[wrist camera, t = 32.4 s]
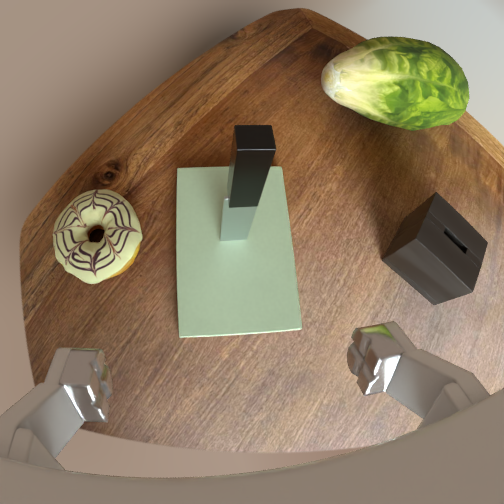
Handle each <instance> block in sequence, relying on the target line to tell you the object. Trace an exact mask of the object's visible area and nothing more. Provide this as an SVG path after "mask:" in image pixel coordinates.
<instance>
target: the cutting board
mask: <svg viewBox="0 0 504 504" xmlns="http://www.w3.org/2000/svg"><path fill="white" fill-rule="evenodd" d="M228 174H229V167H194V168H177V198H176V268H177V304H178V327H179V337H181V338H183V337H208V336H226V335H242V334H256V333H269V332H280V331H291V330H300V329H302V322H301V313H300V304H299V295H298V286H297V278H296V269H295V261H294V253H293V245H292V238H291V230H290V223H289V215H288V208H287V201H286V194H285V187H284V180H283V174H282V167H270V170H269V173H268V176H267V179H266V182H265V185H264V189H263V192H262V195H261V198H260V201H259V204H258V206H257V209H256V212H255V215H254V219H253V222H252V225H251V228H250V231H249V234H248V238H247V240H233V241H220V232H221V222H222V211H223V201H224V196H228V194H227V182H228Z"/></svg>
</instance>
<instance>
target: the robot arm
mask: <svg viewBox="0 0 504 504" xmlns="http://www.w3.org/2000/svg"><path fill="white" fill-rule="evenodd" d="M351 338H352V339H353V341H354V342H353V343H352V344H351V345H350V347H349V348H348V352H347V363H348V366H349V369H350V371H351V373H353V374H354V375H356V376H358V380H357V384H358V385H359V387H360V389H361V391H362V393H363V395H364V396H367V395H371V394H375V393H380V392H384V391H386V393H387V394H389V395H390V396H391V397H393V398H394V399H396V400H397V401H399V402H400V403H401V404H403V405H404V406H406V407H407V408H409V409H410V410H411V411H413V412H414V413H416V414H417V415H419V416H420V417H421V418H423V420H422V422H421V423H420V425H419V426H418V428H417V430H415V431H412V432H410V433H407V434H404V435H402V436H399V437H396V438H393V439H390V440H388V441H385V442H382V443H379V444H375V445H372V446H369V447H366V448H363V449H360V450H356V451H352V452H349V453H345V454H341V455H337V456H334V457H330V458H325V459H321V460H317V461H313V462H308V463H303V464H298V465H293V466H287V467H282V468H276V469H270V470H263V471H256V472H249V473H240V474H230V475H219V476H206V477H185V478H141V477H120V476H108V475H97V474H88V473H79V472H73V471H66V470H65V469H64V468H63V467H62V466H61V465H60V464H59V463H58V461H57V460H56V459H55V458H56V457H57V455H58V454H59V453H60V452H61V450H62V449H63V448H64V447H65V445H66V444H67V443H68V442H69V440H70V439H71V438H72V437H73V435H74V434H75V433H76V432H77V430H78V429H79V428H80V427H81V425H82V424H83V423H84V422H83V421H87V422H108V415H109V409H110V405H109V403H108V401H107V399H108V398H109V397H110V396H111V395H112V389H113V383H112V375H111V371H110V369H109V367H108V366H107V365H105V364H104V363H105V358H106V357H105V355H104V352H103V350H101V349H92V348H64V347H59V348H58V349H57V350H56V352H55V355H54V357H53V360H52V362H51V365H50V368H49V370H48V373H47V376H46V379H45V381H44V383H39V384H38V385H37V386H36V387H35V388H33V389H32V390H31V391H30V392H29V393H27V394H26V395H25V396H24V397H23V398H21V399H20V400H19V401H18V402H17V403H15V404H14V405H13V406H12V407H10V408H9V409H8V410H7V411H6V412H5V413H3V414H2V415H1V416H0V504H504V388H502V389H501V390H499V391H497V392H495V393H494V394H492V395H490V394H489V393H488V392H487V391H486V389H485V388H484V387H483V385H482V384H481V383H480V382H479V380H478V379H477V378H476V377H475V375H474V374H473V373H471V372H469V371H467V370H465V369H463V368H460V367H458V366H456V365H454V364H452V363H450V362H448V361H446V360H443V359H441V358H439V357H437V356H435V355H433V354H431V353H429V352H427V351H424V350H422V349H417V348H416V347H415V346H414V344H413V343H412V342H411V340H410V339H409V338H408V337H407V335H406V334H405V333H404V332H403V330H402V329H401V328H400V327H399V325H398V324H397V323H396V322H394V321H392V322H387V323H382V324H377V325H372V326H366V327H361V328H356V329H355V330H354V331H353V334H352V337H351Z"/></svg>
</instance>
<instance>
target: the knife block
mask: <svg viewBox="0 0 504 504" xmlns="http://www.w3.org/2000/svg"><path fill="white" fill-rule="evenodd" d="M487 244H488V242H487V241H486V240H485V239H484V238H483V237H482V236H481V235H480V234H479V233H478V232H477V231H476V230H475V229H474V228H473V227H472V226H471V225H470V224H469V223H468V222H467V221H466V220H465V219H464V218H463V217H462V216H461V215H460V214H459V213H458V212H457V211H456V210H455V209H454V208H453V207H452V206H451V205H450V204H449V203H448V202H447V201H446V200H444V199H443V198H442V197H441V196H440V195H439V194H438V193H437V192H436V193H434V194H433V195H432V196H431V197H430V198H428V199H427V200H426V201H425V202H424V203H422V204H421V205H420V206H419V207H417V208H416V209H415V210H414V211H413V212H411V213H410V214H409V215H408V216H406V217H405V218H404V220H403V222H402V224H401V226H400V228H399V229H398V231H397V233H396V235H395V237H394V239H393V241H392V243H391V244H390V246H389V248H388V250H387V252H386V253H385V255H384V257H383V259H382V261H383V262H384V263H385V264H387V265H388V266H389V267H390V268H391V269H393V270H394V271H395V272H396V273H397V274H399V275H400V276H401V277H402V278H403V279H404V280H406V281H407V282H408V283H409V284H410V285H411V286H413V287H414V288H415V289H416V290H417V291H418V292H419V293H421V294H422V295H423V296H424V297H425V298H426V299H427V300H428V301H430V302H431V303H432V304H433V305H436V304H439V303H442V302H445V301H448V300H451V299H454V298H457V297H460V296H463V295H466V294H469V293H472V292H473V290H474V287H475V284H476V281H477V278H478V275H479V271H480V268H481V265H482V262H483V258H484V255H485V251H486V247H487Z"/></svg>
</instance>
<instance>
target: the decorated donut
mask: <svg viewBox="0 0 504 504" xmlns="http://www.w3.org/2000/svg"><path fill="white" fill-rule="evenodd" d="M98 228H99V229H103V230H105V233H104V236H103V239H102V240H101V241H100V242H98V243H96V242H90V240H89V236H90V233H91V232H92V231H93V230H95V229H98ZM141 240H142V233H141V228H140V223H139V220H138V217H137V215H136V213H135V211H134V209H133V207H132V206H131V205H130V203H129V202H128V201H127V200H125V199H124V198H123V197H122V196H121V195H119V194H118V193H115V192H113V191H111V190H106V189H104V190H92V191H87V192H85V193H83V194H81V195H79V196H78V197H76V198H75V199H74V200H72V202H71V203H70V204H69V205H68V206H67V207H66V208H65V209H64V210H63V211H62V213H61V214H60V215H59V217H58V218H57V220H56V222H55V226H54V232H53V244H54V249H55V256H56V259H57V260H58V262H60V263H61V264H62V265H63V266H64V268H65V270H66V271H67V272H69V273H71V274H73V275H75V276H76V277H78V278H79V279H80V280H82V281H83V282H86V283H89V284H95V283H99V282H101V281H102V280H106V279H109V278H112V277H114V276H117V275H119V274H121V273H122V272H124V271H125V270H127V269H128V268H129V267H130V266H131V265H132V264H133V262H134V260H135V257H136V256H137V254H138V252H139V248H140V244H141Z"/></svg>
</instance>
